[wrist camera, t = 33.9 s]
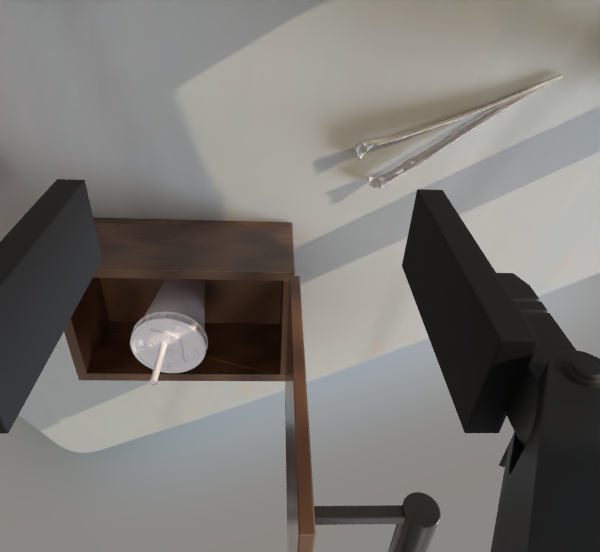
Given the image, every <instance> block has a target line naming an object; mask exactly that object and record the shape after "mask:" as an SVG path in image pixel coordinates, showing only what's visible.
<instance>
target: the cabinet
mask: <svg viewBox="0 0 600 552" xmlns="http://www.w3.org/2000/svg"><path fill="white" fill-rule="evenodd" d="M93 220H94V225H95V229H96V234H97V238H98V243H99V247H100V252H101V256H102V262H101V263H100V265H99V267H98V269H97V271H96V273H95V274H94V276H93V278H92V280H91V282H90V284H89V286H88V287H87V289H86V291H85V293H84V295H83V297H82V298H81V300H80V302H79V304H78V306H77V308H76V309H75V311H74V313H73V315H72V317H71V319H70V320H69V322H68V324H67V326H66V328H65V330H64V332H65V336H66V339H67V342H68V345H69V349H70V352H71V355H72V359H73V362H74V365H75V368H76V372H77V374H78V377H79V380H150V379H151V376H152V372H153V369H151V368H149V367H147V366H145V365H144V364H142V363H141V362H140V361H139V360H138V359H137V358H136V357H135V355H134V354H133V352H132V350H131V346H130V340H131V336H132V332H133V329H134V326H135V325H136V324H137V322H138V321H139V320H140V319H142V318H143V317H144V316H145V314H146V312H147V311H148V309H149V307H150V306H151V304H152V302H153V300H154V299H155V297H156V295H157V293H158V292H159V290H160V288H161V286H162V285H163V283H164V281H165V279H201V280H205V332H206V335H207V338H208V348H207V350H206V354H205V357H204V359H203V360H202V362H201V363H200V364H199V365H198V366H196V367H195V368H193V369H191V370H189V371H185V372H181V373H164V372H160V374H159V378H158V381H285V376H286V353H287V330H288V307H289V284H290V276H294V274H295V271H294V250H293V230H292V223H276V222H235V221H194V220H153V219H112V218H93Z"/></svg>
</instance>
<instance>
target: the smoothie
mask: <svg viewBox="0 0 600 552" xmlns="http://www.w3.org/2000/svg"><path fill="white" fill-rule="evenodd" d="M130 346H131V350H132V352H133V354H134V355H135V357H136V358H137V359H138V360H139V361H140V362H141V363H142V364H144V365H145V366H147V367H149V368H151V369H153V372H152V376H151V379H150V384H151V385H156V384H157V382H158V378H159V374H160V372H164V373H181V372H185V371H189V370H191V369H193V368H195V367H196V366H198V365H199V364H200V363H201V362H202V360H203V359H204V357H205V354H206V350H207V348H208V338H207V335H206V332H205V280H201V279H165V281H164V283H163V285H162V286H161V288H160V290H159V292H158V293H157V295H156V297H155V299H154V300H153V302H152V304H151V306H150V307H149V309H148V311H147V312H146V314H145V316H144V317H143V318H142V319H140V320H139V321H138V322H137V324H136V325H135V326H134V329H133V332H132V336H131V340H130Z"/></svg>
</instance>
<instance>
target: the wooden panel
mask: <svg viewBox="0 0 600 552" xmlns="http://www.w3.org/2000/svg"><path fill="white" fill-rule="evenodd" d="M285 408H286V410H285V411H286V412H285V413H286V477H287V478H286V479H287V547H288V552H313V551H314V543H315V535H316V532H315V531H316V530H315V525H331V524H333V525H334V524H335V525H336V524H397V525H396V528H395V531H394V534H393V538H392V541H391V544H390V548H389V551H388V552H427V550H428V548H429V545H430V543H431V540H432V538H433V535H434V533H435V530H436V528H437V525H438V523H439V520H440V516H441V513H440V509H439V506H438V505H437V503H436V501H435V500H434V499H433V498H432V497H430V496H429V495H427V494H424V493H420V492H416V493H412V494H410V495H408V496H407V497H406V498H405V499H404V502H403V505H401V506H400V505H399V506H398V505H397V506H314V498H313V483H312V467H311V450H310V434H309V419H308V403H307V386H306V370H305V354H304V338H303V322H302V306H301V290H300V277H299V276H290V284H289V307H288V330H287V353H286V376H285Z"/></svg>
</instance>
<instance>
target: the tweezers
mask: <svg viewBox="0 0 600 552" xmlns="http://www.w3.org/2000/svg"><path fill="white" fill-rule="evenodd" d="M561 78H562V75H559V76H556V77H554V78H551V79H549V80H546V81H544V82H541V83H539V84H537V85H534V86H532V87H530V88H527V89H525V90H523V91H520V92H518V93H516V94H513V95H511V96H509V97H506V98H504V99H502V100H499V101H497V102H494V103H491V104H489V105H486V106H483V107H481V108H478V109H475V110H472V111H469V112H466V113H463V114H461V115H458V116H455V117H452V118H449V119H446V120H443V121H440V122H437V123H434V124H431V125H428V126H425V127H422V128H419V129H416V130H412V131H409V132H405V133H401V134H397V135H393V136H390V137H386V138H381V139H376V140H366V141H362V142H361V143H358V144H357V145H356V146H355V151H356V154H357V155H358V157H359V159H361V158H362V156H363V155H364V154H366V153H367V151H368V150H369V149H370V148H371V147H372V146H373V145H377V146H378V145H381V144H384V143H388V142H392V141H396V140H400V139H403V138H406V137H409V136H412V135H414V134H417V133H420V132H424V131H427V130H430V129H433V128H436V127H439V126H442V125H445V124H448V123H451V122H454V121H457V120H460V119H463V118H466V117H468V116H471V115H473V114H475V113H478V112H481V111H483V110H486V109H488V108H491V107H493V106H494V107H493V108H491V109H489V110H487V111H485V112H484V113H482V114H480V115H479V116H477V117H475V118H474V119H472V120H471V121H469V122H468V123H466V124H465V125H463V126H462V127H460V128H459V129H457V130H456V131H454V132H453V133H451V134H450V135H448V136H447V137H445V138H444V139H442V140H441V141H439V142H438V143H436V144H435V145H433V146H432V147H430V148H429V149H427V150H425V151H424V152H422V153H420V154H418V155H416V156H414V157H413V158H411V159H409V160H407V161H406V162H405V163H403V164H402V165H400V166H399V167H397V168H395V169H393V170H392V171H390V172H388V173H386V174H384V175H381V176H378V177H368V176H366V178H367V179H368V181H369V183H370V186H372V187H374V188H378V187H379V188H382V187H384V186H386V185H388V184H389V183H390V182H391V181H392V180H393V179H395V178H397V177H399V176H400V175H402V174H404V173H406V172H407V171H409V170H411V169H413V168H415V167H417V166H419V165H420V164H422V163H424V162H425V161H426V160H428V159H429V158H431V157H432V156H434V155H435V154H437V153H438V152H440V151H441V150H443V149H444V148H446V147H447V146H449V145H450V144H452V143H453V142H455V141H456V140H458V139H460V138H461V137H462V136H464V135H465V134H467V133H468V132H470V131H471V130H473V129H475V128H476V127H478V126H480V125H481V124H483V123H485V122H486V121H488V120H489V119H491V118H492V117H494V116H496V115H497V114H499V113H501V112H503V111H504V110H506V109H507V108H509V107H511V106H512V105H514V104H516V103H517V102H519V101H521V100H522V99H524V98H526V97H528V96H530V95H532V94H533V93H535V92H537V91H539V90H541V89H542V88H544V87H546V86H548V85H550V84H552V83H554V82H556V81H558V80H560V79H561ZM495 105H496V106H495ZM402 169H404V171H403V172H402V173H400V174H398V175H397V173H398V172H399V171H400V170H402ZM396 175H397V176H396Z"/></svg>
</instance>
